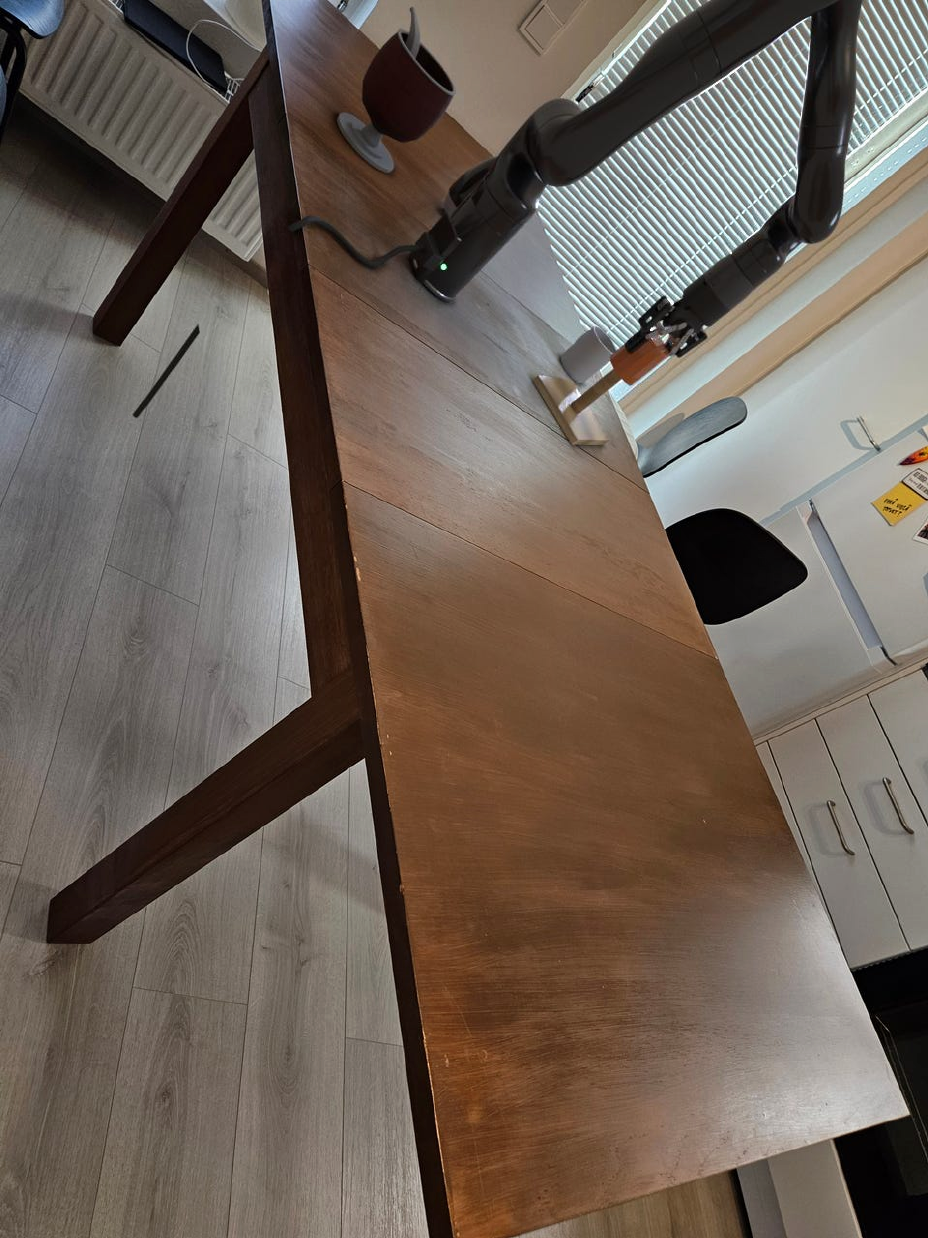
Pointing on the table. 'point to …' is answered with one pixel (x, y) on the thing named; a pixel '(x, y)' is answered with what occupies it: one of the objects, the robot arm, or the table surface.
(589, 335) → the cup
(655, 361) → the terracotta cup
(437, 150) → the table surface
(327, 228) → the robot arm
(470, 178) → the pump dispenser
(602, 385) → the cup stand
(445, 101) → the mate gourd
